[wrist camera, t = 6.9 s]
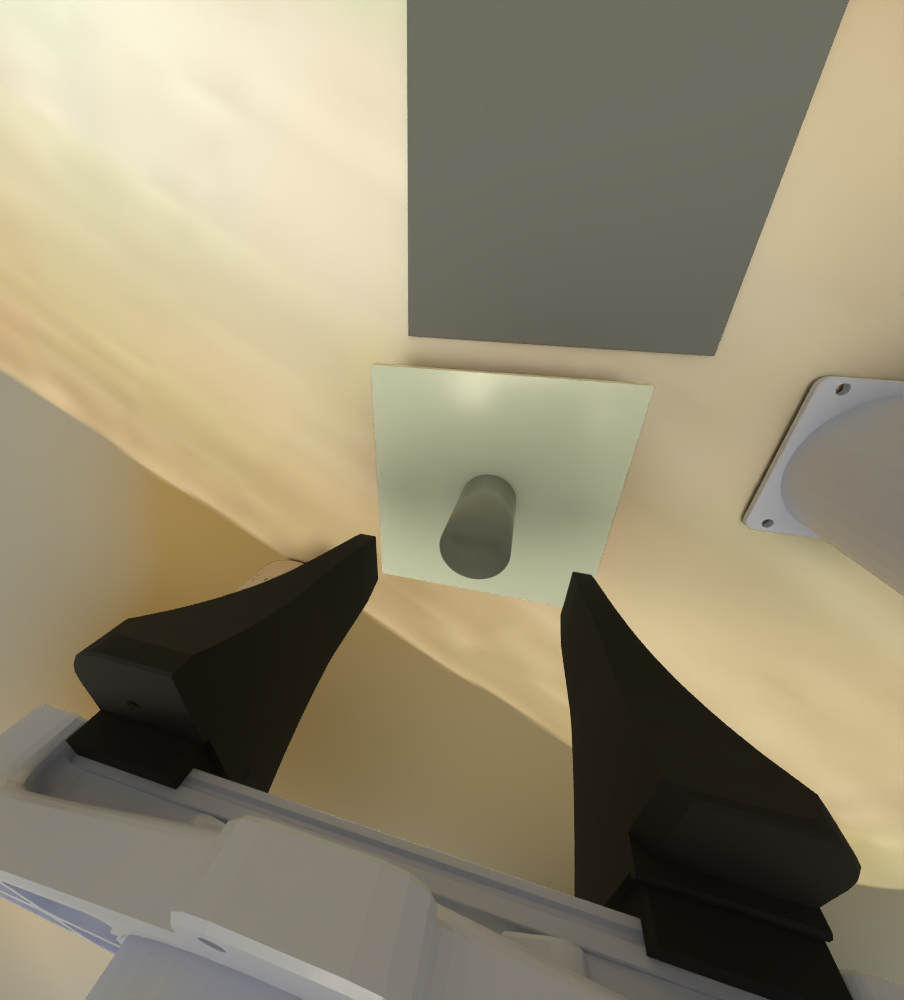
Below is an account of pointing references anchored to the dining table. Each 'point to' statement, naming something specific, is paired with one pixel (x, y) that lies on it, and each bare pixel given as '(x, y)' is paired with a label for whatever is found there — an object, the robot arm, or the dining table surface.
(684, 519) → the dining table surface
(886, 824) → the dining table surface
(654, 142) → the mat
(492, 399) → the lid
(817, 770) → the dining table surface
